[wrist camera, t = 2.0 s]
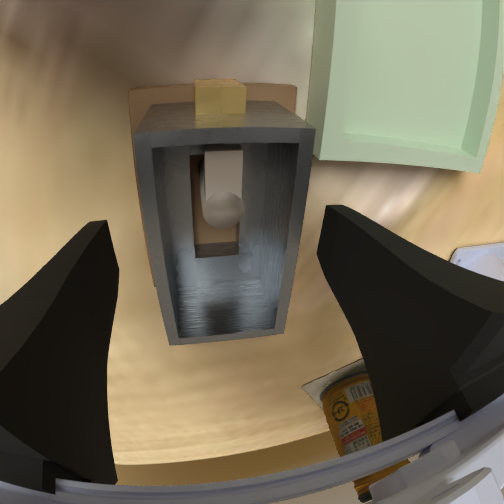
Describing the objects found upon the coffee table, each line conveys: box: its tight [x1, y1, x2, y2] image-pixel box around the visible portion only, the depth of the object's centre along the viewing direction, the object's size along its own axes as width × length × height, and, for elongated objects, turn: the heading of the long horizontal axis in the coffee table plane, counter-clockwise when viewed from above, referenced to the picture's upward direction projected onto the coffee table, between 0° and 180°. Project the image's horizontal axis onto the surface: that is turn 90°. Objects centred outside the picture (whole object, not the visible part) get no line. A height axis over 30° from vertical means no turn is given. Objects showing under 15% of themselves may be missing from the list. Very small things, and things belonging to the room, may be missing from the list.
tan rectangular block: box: [128, 83, 297, 287], centre depth 11 cm, size 9×6×4 cm, turn 177°
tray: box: [306, 0, 504, 173], centre depth 9 cm, size 13×10×2 cm
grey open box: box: [133, 79, 316, 346], centre depth 11 cm, size 9×4×4 cm, turn 177°
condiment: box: [302, 359, 411, 503], centre depth 22 cm, size 7×8×12 cm
